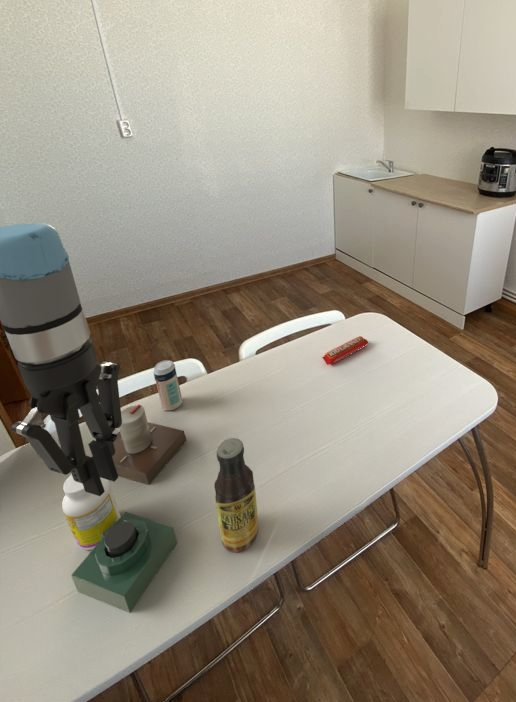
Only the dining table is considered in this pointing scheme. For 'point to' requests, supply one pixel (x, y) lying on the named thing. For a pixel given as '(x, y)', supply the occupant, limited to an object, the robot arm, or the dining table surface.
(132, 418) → the dial
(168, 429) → the dial panel
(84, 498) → the supplement bottle
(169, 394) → the pale pink canister
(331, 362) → the candy bar
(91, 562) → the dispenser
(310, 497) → the dining table surface
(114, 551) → the dark grey push button
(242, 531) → the sauce bottle
